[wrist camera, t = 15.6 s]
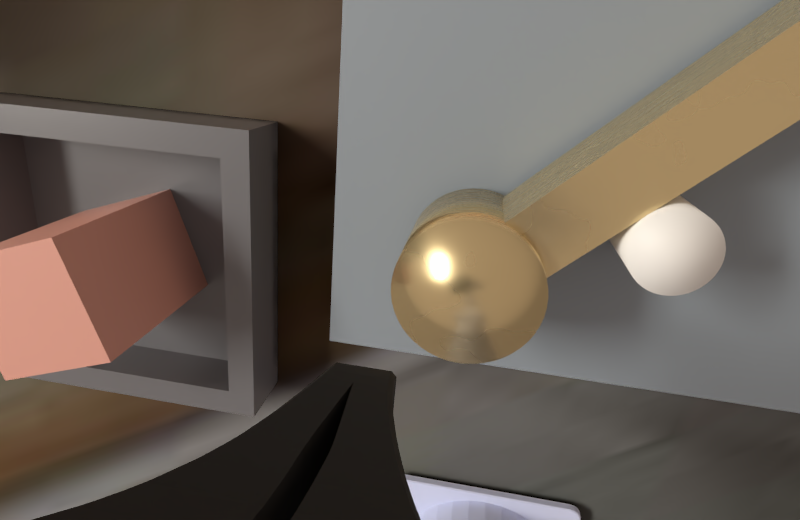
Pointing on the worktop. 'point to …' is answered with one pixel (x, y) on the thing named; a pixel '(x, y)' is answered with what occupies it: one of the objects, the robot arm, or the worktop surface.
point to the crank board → (541, 145)
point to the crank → (590, 194)
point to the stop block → (93, 284)
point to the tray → (204, 221)
